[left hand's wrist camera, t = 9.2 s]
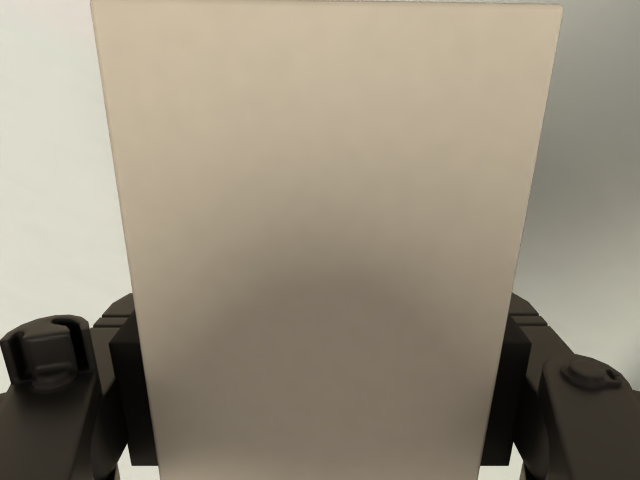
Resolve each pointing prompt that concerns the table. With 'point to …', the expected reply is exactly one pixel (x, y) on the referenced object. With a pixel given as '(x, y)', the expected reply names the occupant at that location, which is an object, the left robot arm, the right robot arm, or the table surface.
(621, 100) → the table surface
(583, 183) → the table surface
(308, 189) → the bar
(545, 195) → the table surface
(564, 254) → the table surface
